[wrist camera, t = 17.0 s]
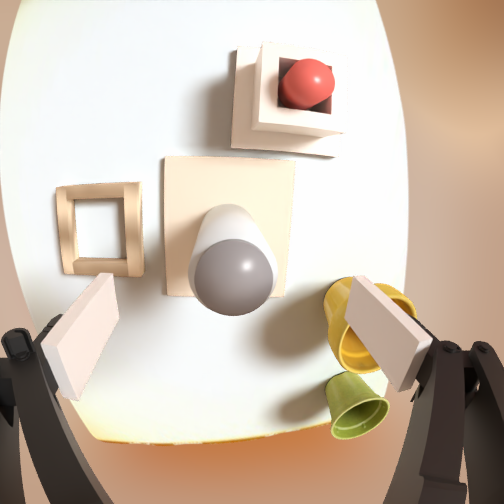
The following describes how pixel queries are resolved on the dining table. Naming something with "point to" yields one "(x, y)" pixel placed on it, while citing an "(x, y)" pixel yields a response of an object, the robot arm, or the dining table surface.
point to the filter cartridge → (231, 262)
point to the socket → (133, 229)
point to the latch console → (275, 113)
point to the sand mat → (224, 192)
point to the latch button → (306, 84)
